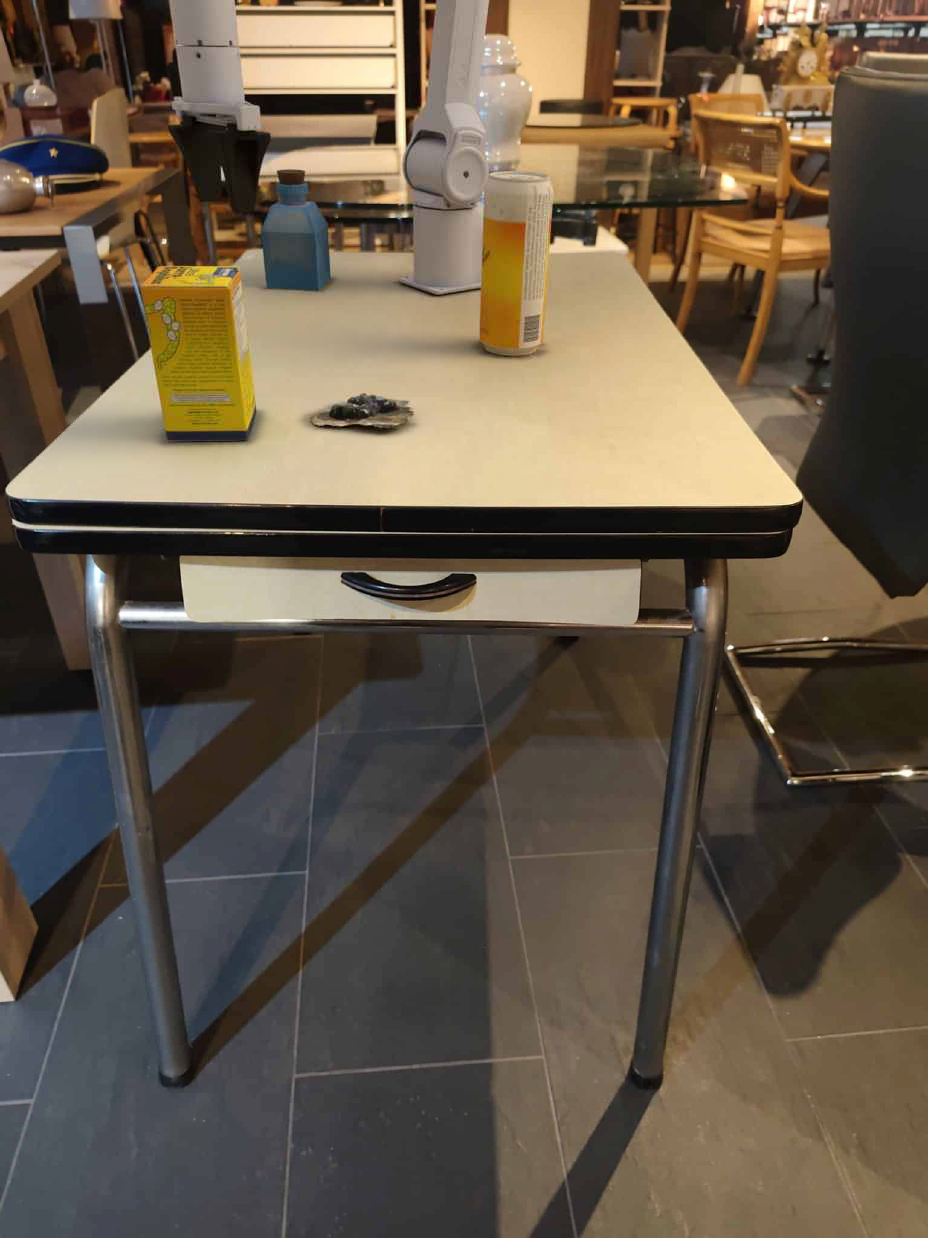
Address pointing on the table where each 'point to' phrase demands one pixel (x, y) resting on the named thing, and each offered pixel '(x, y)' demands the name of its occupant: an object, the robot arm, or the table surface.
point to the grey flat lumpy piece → (365, 412)
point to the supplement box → (200, 352)
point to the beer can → (515, 261)
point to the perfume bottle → (295, 238)
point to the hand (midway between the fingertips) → (226, 206)
